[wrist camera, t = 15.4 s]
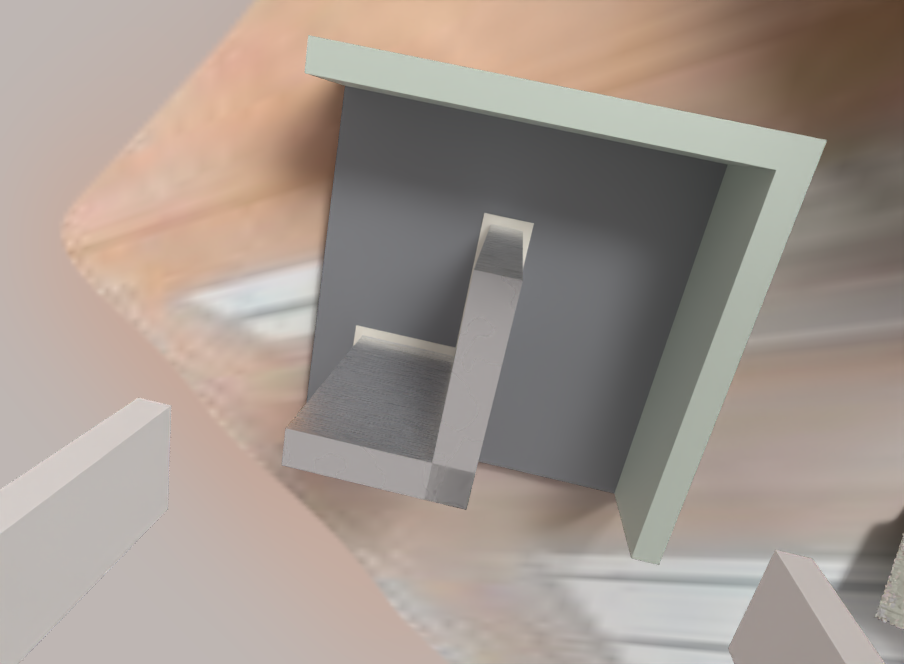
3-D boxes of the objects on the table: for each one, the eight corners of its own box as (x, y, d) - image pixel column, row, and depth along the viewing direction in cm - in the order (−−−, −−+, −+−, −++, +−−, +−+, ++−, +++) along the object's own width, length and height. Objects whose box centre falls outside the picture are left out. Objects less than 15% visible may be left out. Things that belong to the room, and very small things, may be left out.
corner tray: (352, 57, 31) (308, 35, 24) (761, 140, 30) (827, 140, 23) (308, 414, 38) (265, 470, 32) (635, 491, 37) (659, 564, 31)
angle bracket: (484, 390, 35) (466, 509, 24) (358, 361, 35) (281, 465, 24) (522, 231, 32) (523, 280, 20) (383, 200, 32) (307, 232, 21)
